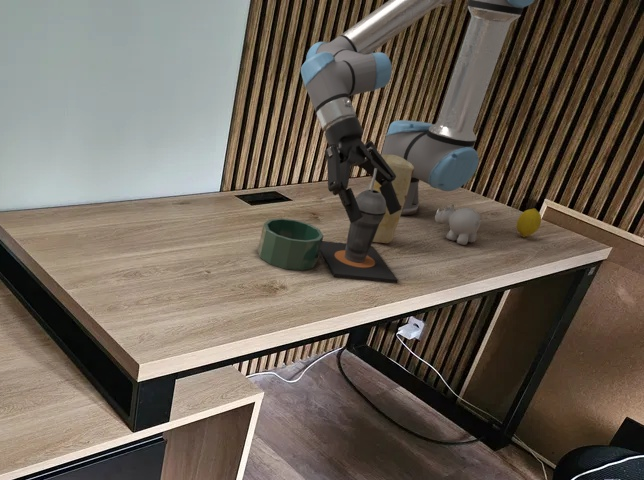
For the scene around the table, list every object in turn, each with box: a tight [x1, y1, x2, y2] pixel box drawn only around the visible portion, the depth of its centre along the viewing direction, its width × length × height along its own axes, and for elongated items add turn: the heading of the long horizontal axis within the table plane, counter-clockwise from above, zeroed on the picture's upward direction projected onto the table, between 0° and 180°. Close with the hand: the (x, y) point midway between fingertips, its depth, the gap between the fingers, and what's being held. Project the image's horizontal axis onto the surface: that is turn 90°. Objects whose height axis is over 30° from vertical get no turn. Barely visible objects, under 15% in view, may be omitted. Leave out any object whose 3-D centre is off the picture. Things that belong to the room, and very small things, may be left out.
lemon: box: [515, 208, 542, 238], centre depth 182 cm, size 6×6×8 cm
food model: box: [369, 155, 414, 244], centre depth 163 cm, size 10×7×20 cm
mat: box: [319, 240, 399, 284], centre depth 153 cm, size 18×14×1 cm
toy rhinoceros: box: [434, 204, 482, 246], centre depth 174 cm, size 7×12×8 cm, turn 35°
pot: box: [257, 217, 325, 271], centre depth 149 cm, size 13×13×6 cm
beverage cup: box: [344, 168, 386, 263], centre depth 147 cm, size 7×7×20 cm
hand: (376, 216), depth 146 cm, fingers open, 13 cm apart
